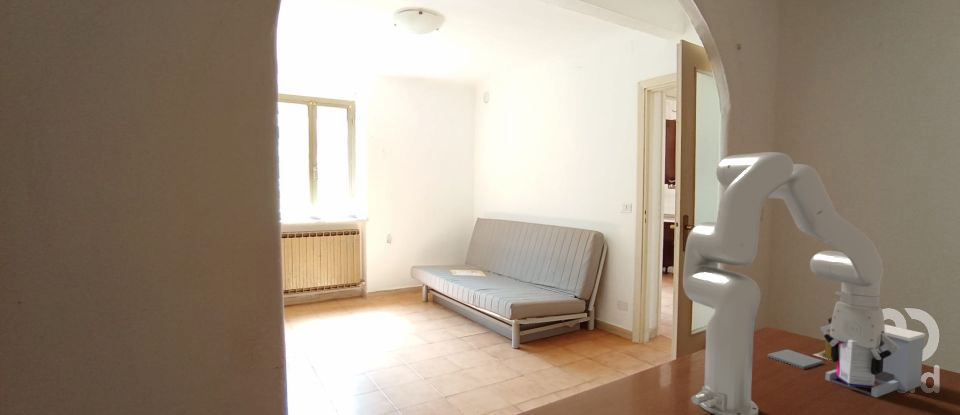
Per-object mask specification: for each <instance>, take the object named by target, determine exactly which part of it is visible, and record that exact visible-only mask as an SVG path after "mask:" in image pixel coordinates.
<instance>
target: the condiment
mask: <svg viewBox="0 0 960 415" xmlns="http://www.w3.org/2000/svg"><path fill="white" fill-rule="evenodd" d="M827 320H828V322H827V325H828V324H831V322H832V317H829V318H828V319H827ZM829 332H830V330H829ZM824 344H825V345H824V347H825V348H824V350H823V351H820V352H817V353H813V354H812V356H815V357H818V358H820V359H825V360H828V359H829V360H828V361H830V360H832V357H831V346H830V345H829V342H828V341H827V340H826V339H825V343H824ZM823 356H824V357H823Z"/></svg>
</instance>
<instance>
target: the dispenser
mask: <svg viewBox="0 0 960 415" xmlns="http://www.w3.org/2000/svg"><path fill="white" fill-rule="evenodd" d="M885 335H886V336H888V337H889V338H890V339H891V340H892V341H894V342H895V343H896V344H897V345H898V346H899V347H900V349H899V350H897V351H896V352H895V353H893V354H892V355H890V356H888V357H886V358H884V359H883V371H882V372H880V373H879V374H876V375H875V381H874V383H875V382H876V383H878V384H879V385H874V387H873V388H871V391H870V392H871V396H870V397H873V398H879V397H882V396H884V395H886V394H889V393H891V392H892V393H893V392H894V391H897V390H900V391H903V392H909V391H910V390H914V389H915V388H918V387H920V386H921V385H922V368H923V367H922V366H923V355H924V354H923V352H924V351H923V350H924V339H925V337H926V333H924V332H920V331H915V330H911V329H906V328H903V327H898V326H895V325H888V324H885ZM881 348H882V350H883V351H886V350H887V349H888V348H889V347H888V345H886V344H885V343H884V346H882V347H881ZM836 373H837V368H835V369H832V370H829V371H826V372H825V379H824V380H825V381H828V382H830V379H834V380H838V379H839V378H837V377H836Z"/></svg>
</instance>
